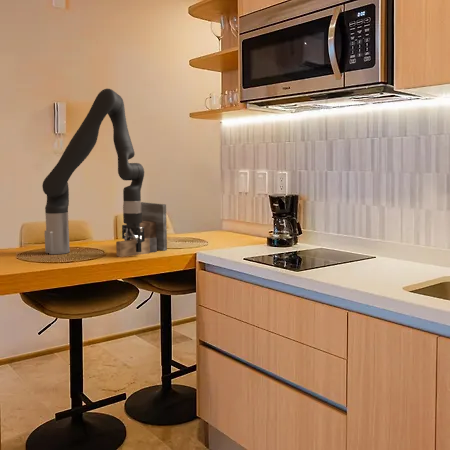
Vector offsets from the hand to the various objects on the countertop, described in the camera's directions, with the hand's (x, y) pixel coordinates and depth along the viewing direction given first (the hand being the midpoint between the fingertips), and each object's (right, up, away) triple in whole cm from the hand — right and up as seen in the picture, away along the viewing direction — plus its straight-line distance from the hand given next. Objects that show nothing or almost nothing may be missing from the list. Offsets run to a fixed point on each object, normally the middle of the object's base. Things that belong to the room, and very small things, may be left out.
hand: (133, 250), depth 224 cm
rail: (+2, -1, +1) cm, 3 cm away
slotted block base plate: (+2, 0, +15) cm, 15 cm away
